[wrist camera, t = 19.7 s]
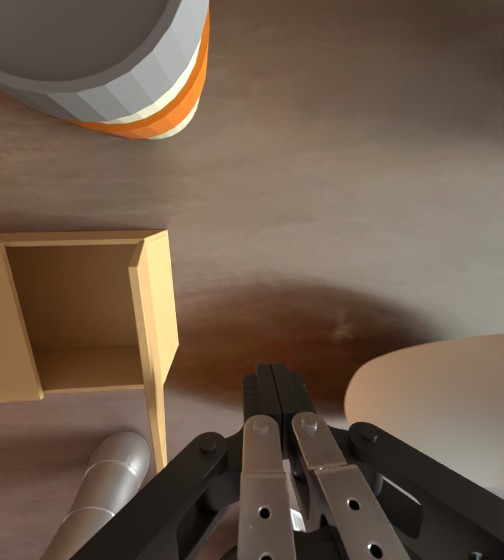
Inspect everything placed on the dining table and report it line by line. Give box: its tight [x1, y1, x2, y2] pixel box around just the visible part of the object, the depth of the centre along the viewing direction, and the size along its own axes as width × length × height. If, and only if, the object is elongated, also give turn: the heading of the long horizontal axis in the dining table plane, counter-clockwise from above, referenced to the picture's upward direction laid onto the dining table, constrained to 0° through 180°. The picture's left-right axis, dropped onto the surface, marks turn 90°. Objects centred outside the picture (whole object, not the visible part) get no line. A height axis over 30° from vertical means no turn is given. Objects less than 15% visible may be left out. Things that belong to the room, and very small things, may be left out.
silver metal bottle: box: [40, 432, 150, 560], centre depth 24 cm, size 6×7×20 cm
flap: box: [128, 240, 167, 474], centre depth 17 cm, size 9×13×1 cm
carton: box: [0, 230, 179, 402], centre depth 24 cm, size 19×13×8 cm
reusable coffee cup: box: [0, 0, 210, 139], centre depth 16 cm, size 13×13×15 cm
